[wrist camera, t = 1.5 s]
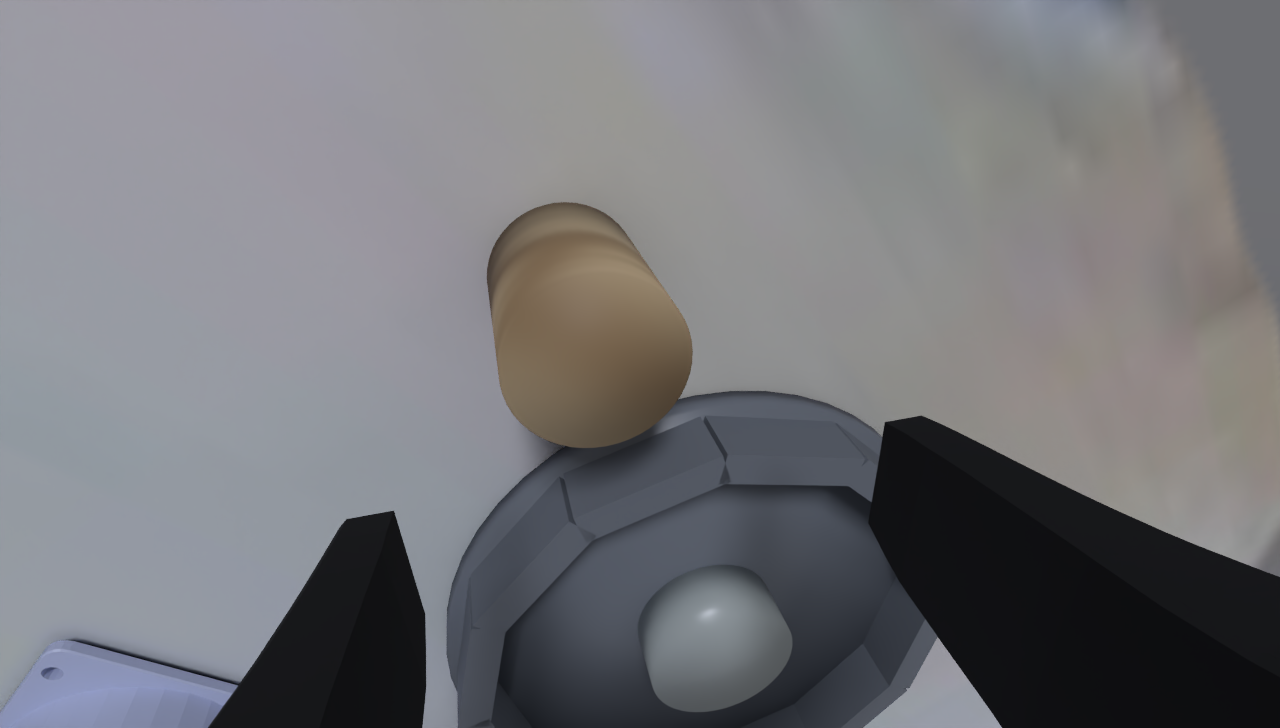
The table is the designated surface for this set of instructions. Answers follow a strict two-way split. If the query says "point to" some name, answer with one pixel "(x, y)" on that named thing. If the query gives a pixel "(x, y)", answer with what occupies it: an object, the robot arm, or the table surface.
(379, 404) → the table surface
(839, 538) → the ring tray
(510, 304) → the bead
